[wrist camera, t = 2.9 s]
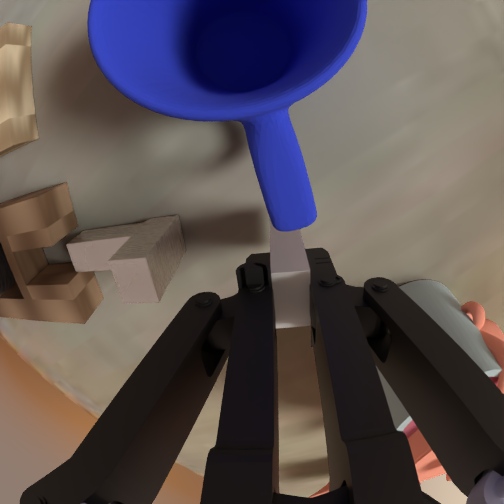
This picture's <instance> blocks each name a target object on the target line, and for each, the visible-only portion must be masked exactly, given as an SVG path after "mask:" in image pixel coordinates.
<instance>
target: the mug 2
mask: <svg viewBox="0 0 504 504" xmlns="http://www.w3.org/2000/svg"><path fill="white" fill-rule="evenodd" d="M399 288H400V289H401V290H403V291H404V292H405V293H406V294H407V295H408V296H409V297H410V298H411V299H412V300H413V301H414V302H415V303H416V304H418V305H419V306H420V307H421V308H422V309H423V310H424V311H425V312H426V313H427V314H428V315H429V316H430V317H431V318H432V319H433V320H434V321H435V322H436V323H437V324H438V325H439V326H440V327H441V328H442V329H443V330H444V331H445V332H446V333H447V334H448V335H449V336H450V337H451V338H452V339H453V340H454V341H455V342H456V343H457V344H458V345H459V346H460V347H461V348H462V349H463V350H464V351H465V352H466V353H467V354H468V355H469V356H470V357H471V359H472V360H473V361H474V362H475V363H476V364H477V365H478V366H479V367H480V368H481V369H482V370H483V371H484V373H485V374H486V375H487V376H488V377H489V378H490V379H491V380H492V381H493V383H494V384H495V385H496V386H497V384H498V379H499V373H500V372H501V371H502V368H501V367H500V366H499V364H498V363H497V361H496V359H495V358H494V356H493V355H492V353H491V352H490V350H489V349H488V347H487V345H486V343H485V342H484V339H483V337H482V335H481V332H480V330H479V329H478V328H477V327H476V326H475V325H474V324H473V320H472V319H471V318H470V316H469V315H468V314H466V313H465V312H464V311H462V310H461V307H462V306H461V304H460V303H459V302H458V301H457V299H456V298H455V297H454V296H453V294H452V293H451V292H450V291H449V289H448V288H447V287H446V286H445V285H443V284H442V283H440V282H437V281H433V280H417V281H413V282H409V283H406V284H404V285H401V286H399ZM376 368H377V366H376ZM377 371H378V374H379V377H380V380H381V383H382V386H383V389H384V393H385V396H386V399H387V402H388V406H389V409H390V412H391V416H392V419H393V423H394V426H395V428H396V429H397V430H398V431H403V432H404V433H405V435H406V436H407V439H408V438H409V437H410V436H411V435H412V434H413V433H414V432H416V431H417V430H418V427H417V426H416V424H415V423H414V421H413V420H412V418H411V417H410V415H409V414H408V412H407V411H406V409H405V408H404V406H403V405H402V403H401V402H400V400H399V399H398V397H397V396H396V394H395V393H394V391H393V390H392V388H391V387H390V385H389V384H388V382H387V381H386V379H385V378H384V377H383V375H382V374H381V372H380V371H379V369H378V368H377Z"/></svg>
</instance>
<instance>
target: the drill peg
mask: <svg viewBox="0 0 504 504" xmlns="http://www.w3.org/2000/svg"><path fill="white" fill-rule="evenodd" d="M15 282H16V280H15V278H14V275H13V273H12V271H11V268H10V266H9V263H8V261H7V258H6V255H5V253H4V250H3V247H2V245H1V242H0V296H1V295H2V294H3V293H4V292H5V291H6V290H7V289H8V288H9V287H11V286H12V285H13V284H14V283H15Z"/></svg>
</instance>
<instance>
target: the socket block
mask: <svg viewBox="0 0 504 504" xmlns="http://www.w3.org/2000/svg"><path fill="white" fill-rule="evenodd" d="M77 227H78V223H77V220H76V216H75V213H74V209H73V205H72V202H71V198H70V194H69V190H68V186H67V182H66V183H62V184H59V185H55V186H52V187H49V188H45V189H42V190H39V191H36V192H33V193H29V194H26V195H23V196H20V197H17V198H15V199H12V200H9V201H6V202H3V203H0V242H1V245H2V247H3V250H4V253H5V255H6V258H7V261H8V263H9V266H10V268H11V271H12V273H13V275H14V278H15V280H16V282H15V283H14V284H13V285H12V286H11V287H9V288H8V289H7V290H6V291H5V292H4V293H3V294H2V295H1V296H0V317H7V318H16V319H26V320H37V321H49V322H63V323H80V324H85V323H86V322H87V320H88V319H89V318H90V316H91V315H92V313H93V312H94V311H95V309H96V308H97V306H98V305H99V304H100V302H101V301H102V300H103V295H102V293H101V290H100V288H99V285H98V282H97V280H96V277H95V274H94V272H93V271H88V272H76V271H75V268H74V265H73V263H63V264H52V265H48V262H47V259H46V257H45V254H44V251H43V248H42V247H49V246H53V245H54V244H56V243H57V242H58V241H60V240H61V239H62V238H63V237H65V236H66V235H67V234H69V233H70V232H71V231H73V230H74V229H75V228H77Z"/></svg>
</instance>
